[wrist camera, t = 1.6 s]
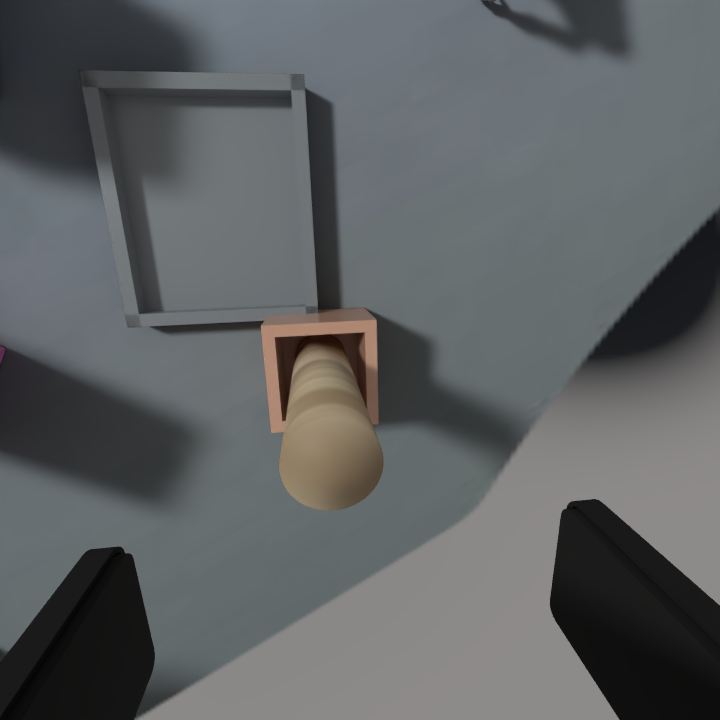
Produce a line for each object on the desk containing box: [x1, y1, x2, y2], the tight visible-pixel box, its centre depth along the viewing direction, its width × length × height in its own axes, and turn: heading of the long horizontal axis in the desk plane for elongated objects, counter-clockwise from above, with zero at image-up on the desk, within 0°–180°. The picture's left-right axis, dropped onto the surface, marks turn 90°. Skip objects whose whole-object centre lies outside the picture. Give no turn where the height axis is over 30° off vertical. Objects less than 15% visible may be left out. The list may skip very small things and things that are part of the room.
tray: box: [79, 70, 318, 327], centre depth 24 cm, size 14×12×2 cm
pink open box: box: [261, 308, 379, 433], centre depth 26 cm, size 7×7×6 cm
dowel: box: [279, 334, 383, 511], centre depth 21 cm, size 4×4×15 cm
